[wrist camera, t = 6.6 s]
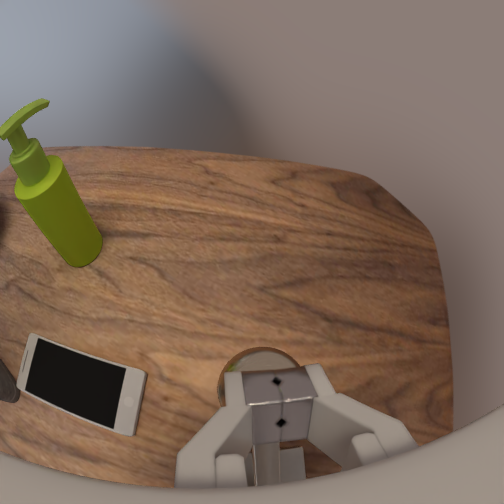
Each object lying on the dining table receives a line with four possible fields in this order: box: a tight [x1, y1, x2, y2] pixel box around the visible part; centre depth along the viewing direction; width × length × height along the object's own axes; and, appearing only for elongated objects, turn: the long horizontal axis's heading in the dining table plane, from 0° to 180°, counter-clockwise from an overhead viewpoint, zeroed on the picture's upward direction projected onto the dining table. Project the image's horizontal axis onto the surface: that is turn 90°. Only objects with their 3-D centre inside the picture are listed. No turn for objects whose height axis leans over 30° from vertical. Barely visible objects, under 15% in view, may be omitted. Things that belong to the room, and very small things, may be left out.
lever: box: [217, 347, 300, 486], centre depth 11 cm, size 15×4×4 cm, turn 5°
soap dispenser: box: [0, 99, 102, 267], centre depth 26 cm, size 6×7×20 cm
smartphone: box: [16, 333, 147, 436], centre depth 25 cm, size 7×16×1 cm, turn 82°
